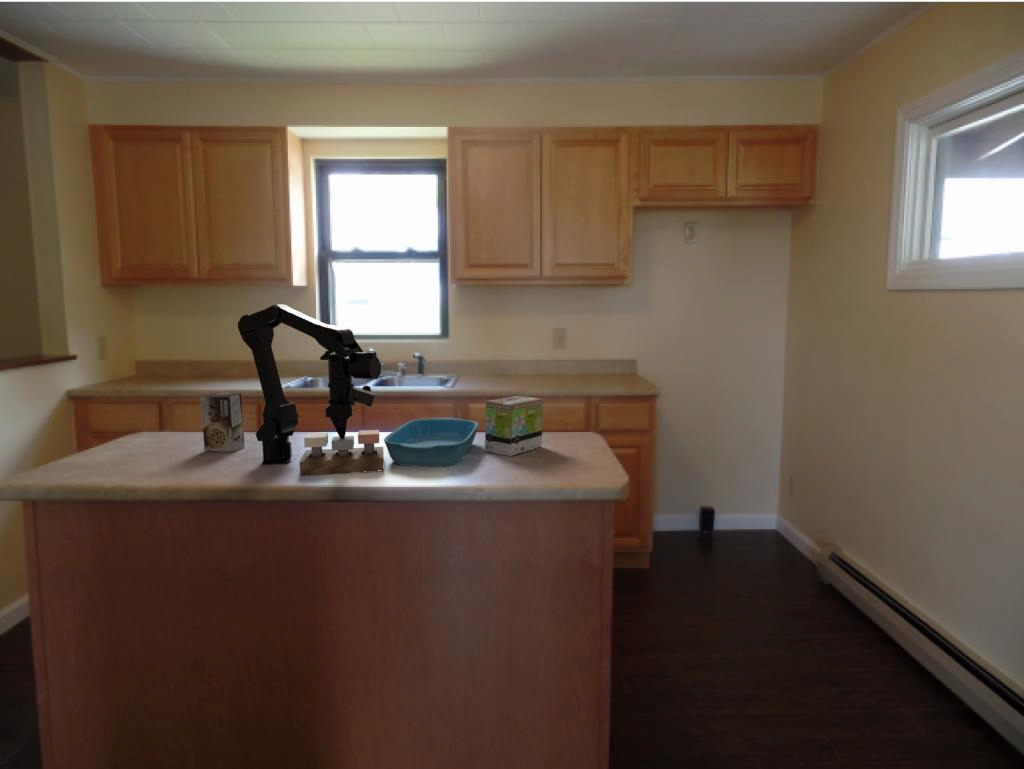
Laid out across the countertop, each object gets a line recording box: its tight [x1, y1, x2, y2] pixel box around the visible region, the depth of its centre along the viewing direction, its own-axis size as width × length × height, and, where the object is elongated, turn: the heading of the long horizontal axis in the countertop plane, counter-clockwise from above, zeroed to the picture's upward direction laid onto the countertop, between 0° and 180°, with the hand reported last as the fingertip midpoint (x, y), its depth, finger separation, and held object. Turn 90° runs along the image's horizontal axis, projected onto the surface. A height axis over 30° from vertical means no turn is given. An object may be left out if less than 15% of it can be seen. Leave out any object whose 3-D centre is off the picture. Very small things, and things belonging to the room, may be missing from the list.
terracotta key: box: [357, 429, 380, 455], centre depth 158 cm, size 5×5×6 cm
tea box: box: [484, 395, 544, 457], centre depth 176 cm, size 15×10×15 cm, turn 143°
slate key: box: [330, 435, 355, 456], centre depth 157 cm, size 5×5×6 cm
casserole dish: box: [383, 417, 479, 467], centre depth 172 cm, size 37×22×7 cm, turn 174°
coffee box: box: [199, 392, 246, 453], centre depth 176 cm, size 9×6×16 cm
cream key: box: [303, 432, 329, 457], centre depth 156 cm, size 5×5×6 cm
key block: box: [299, 446, 384, 476], centre depth 158 cm, size 20×12×4 cm, turn 102°
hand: (342, 438), depth 157 cm, fingers closed, pressing on slate key
